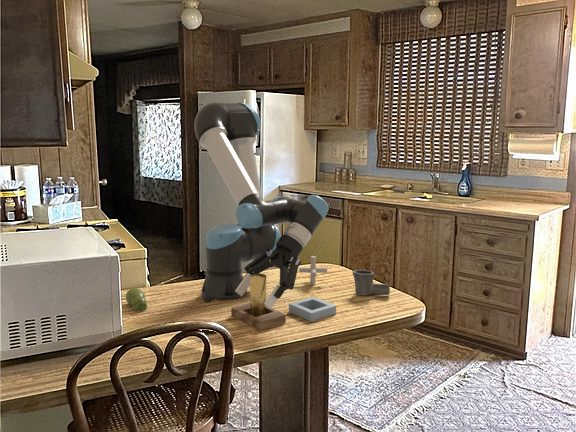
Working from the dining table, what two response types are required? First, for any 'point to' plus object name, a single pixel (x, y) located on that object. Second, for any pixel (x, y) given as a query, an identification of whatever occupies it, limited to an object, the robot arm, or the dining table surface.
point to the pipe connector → (313, 270)
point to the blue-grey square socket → (312, 309)
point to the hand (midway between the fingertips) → (252, 300)
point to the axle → (257, 294)
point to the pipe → (368, 284)
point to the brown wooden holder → (260, 322)
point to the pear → (136, 299)
